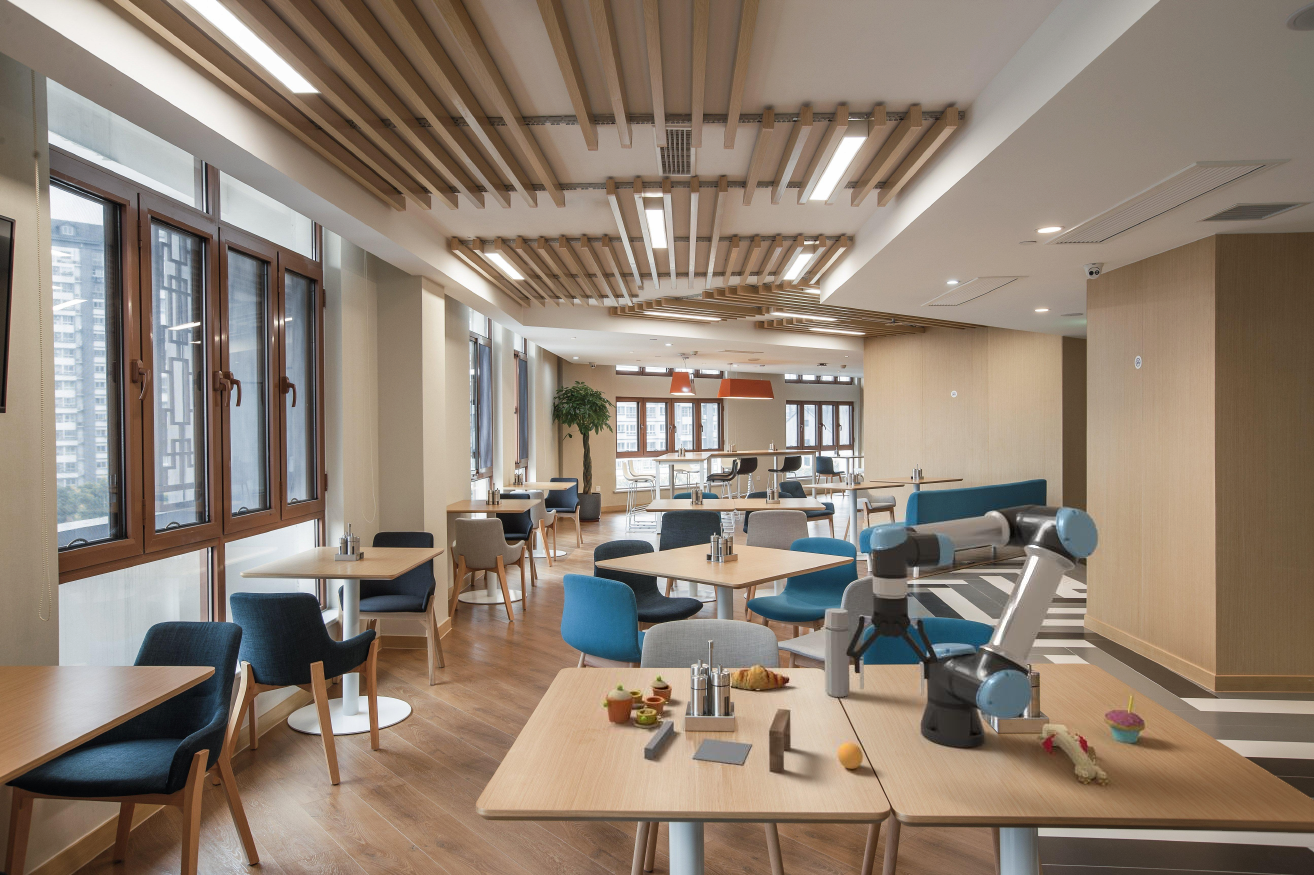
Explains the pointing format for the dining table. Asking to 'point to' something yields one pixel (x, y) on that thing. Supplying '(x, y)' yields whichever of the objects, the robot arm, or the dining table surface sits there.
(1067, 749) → the bone
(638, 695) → the toy tea set
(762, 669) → the croissant
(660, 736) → the stopper
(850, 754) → the ball
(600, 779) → the dining table surface
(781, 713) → the bridge
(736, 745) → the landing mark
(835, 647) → the water bottle
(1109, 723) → the cupcake
